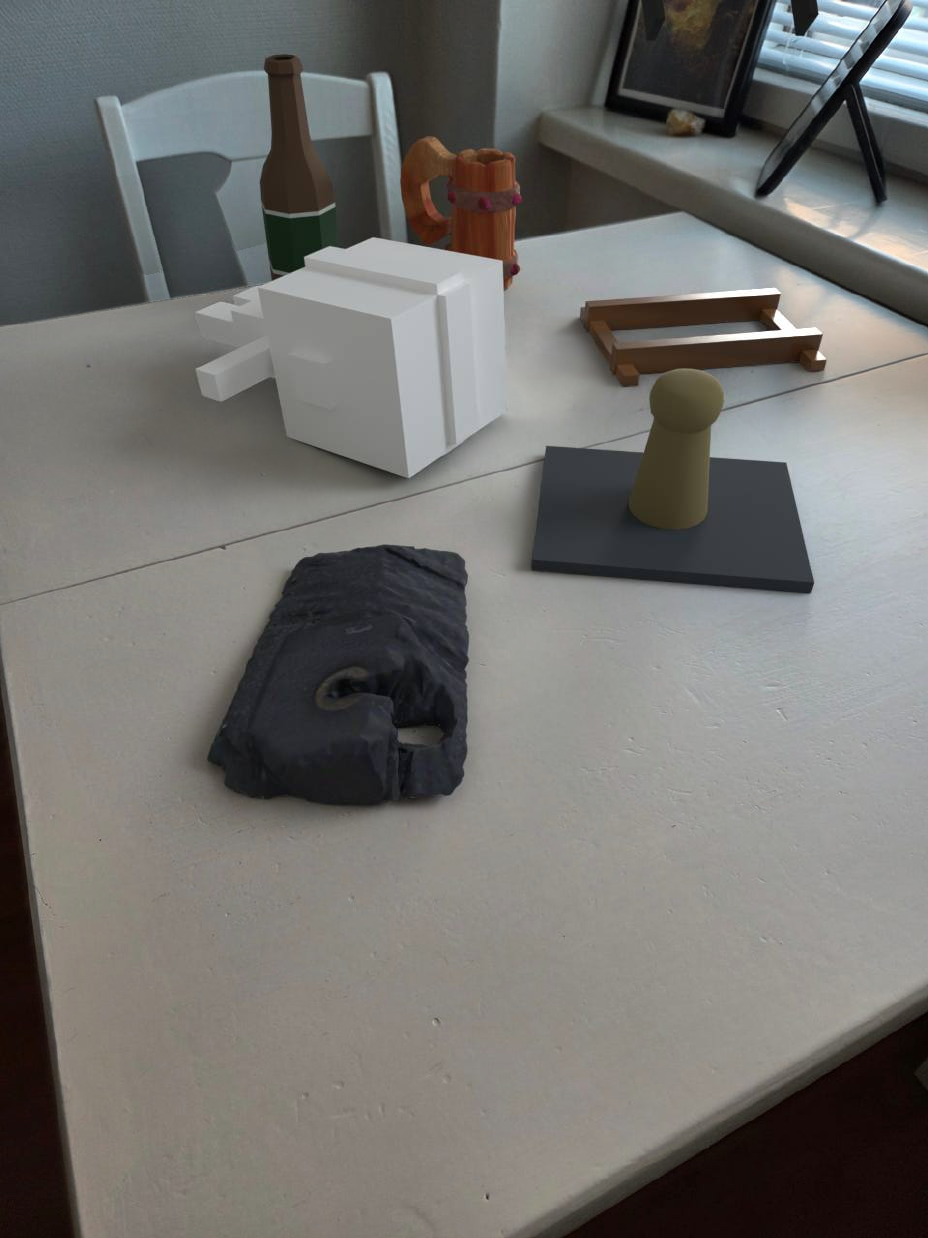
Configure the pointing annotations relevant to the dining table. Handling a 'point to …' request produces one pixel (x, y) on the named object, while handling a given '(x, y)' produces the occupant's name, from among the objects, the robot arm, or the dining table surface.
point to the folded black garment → (354, 682)
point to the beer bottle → (293, 176)
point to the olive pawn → (677, 450)
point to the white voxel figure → (371, 350)
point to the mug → (464, 201)
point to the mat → (703, 554)
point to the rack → (702, 350)
